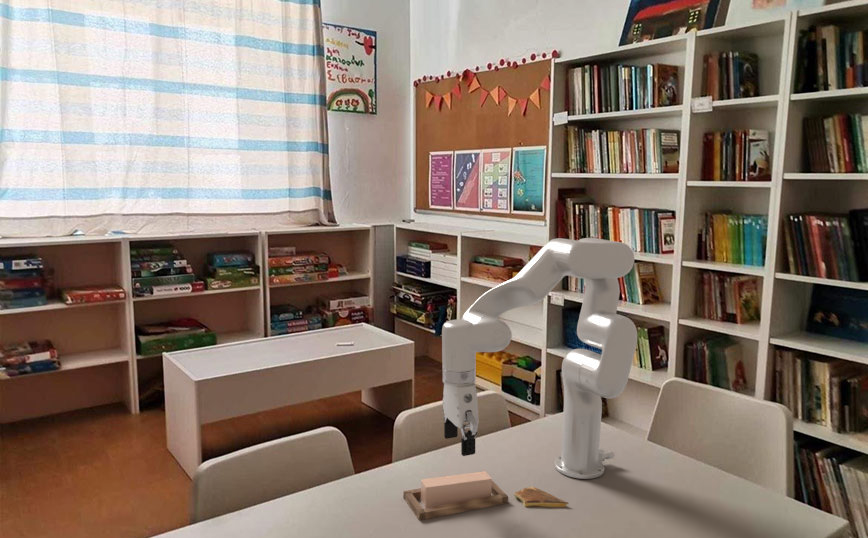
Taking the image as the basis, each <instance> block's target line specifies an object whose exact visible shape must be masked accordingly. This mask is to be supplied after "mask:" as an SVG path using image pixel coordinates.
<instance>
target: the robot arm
mask: <svg viewBox="0 0 868 538" xmlns="http://www.w3.org/2000/svg"><path fill="white" fill-rule="evenodd" d="M634 264H635V254H634V251H633V250H632V248H631V247H630V246H629V245H628V244H626V243H624V242H620V241H614V240H610V239H609V240H608V239H602V238H596V237H585V238H579V240H576V239H575V240H574V239H569V238H561V237H558V238H553V239H550V240H549V241H548V242H546V243H545V244H544V245H543V246H542V247H541V248H540V250H539V251H537V252H536V254H535V255H533V257H531V259H530V260H529V261H528V262H527V263H526V264H525V265H524V266H523V268H522V269H520V271H519V272H518V273H517V274H516V275H514V276H513V277H512V278H510V279H508V280H506V281H503V282H502V283H500V284H498V285H497V286H495V287H493V288H491V289H489V290H488V291H486V292H484V293H482V295H480V296H479V297H478V299H476V300H475V302H474V303H473V304H471V306H470V307H468V309H467V310H466V311H465V312H464V314H463V316H462V317H461V318H460V319H451V320H447V321H445V322H444V323H443V325H442V329H441V343H442V344H441V346H442V348H441V351H442V352H441V355H442V356H441V357H442V360H441V361H442V362H441V363H442V364H441V365H442V366H441V367H442V383H443V393H442V400H441V401H442V406H443V407H442V412H443V414H444V415H443V426H444V428H443V429H444V432H443V433H444V435H443V436H444V438H445V440H447V439H453V438H457V437H458V435H459V433H458V430H460V432H461V435H462V438H460V440H461V441H460V443H461V451H460V452H461V456H463V457H467V456H470V455H471V456H472V455H475V454H476V438H477V434H478V428H479V406H478V405H479V404H478V402H479V401H478V393H477V388H476V387H477V385H476V384H475V383H476V381H477V379H476V377H477V376H476V374H477V373H476V372H477V370H476V368H477V367H476V366H477V362H476V360H477V359H476V357H477V355H476V354H477V353H496V352H500V351H503V350H504V349H506V348H507V347H508V346H509V345H510V343H511V341H512V337H513V334H512V330H511V328H510V326H509V325H508V324H507V323H506V322H504V320H502V319H499V317H500V316H502V315H503V314H505V313H507V312H509V311H512V310H514V309H518V308H523V307H529V306H533V305H536V304H539V303H541V302H542V301H543V300H544V299H545V298H546V297H547V295H549V294H550V292H552V290H553V289H554V288H555V287H556V286H557V285H558V284H559V283H560V282H561V281H562V280H563V278H564V277H566V276H568V277H573V278H577V279H584V283H585V286H584V287H585V289H584V295H583V299H582V302H581V303H582V305H581V309H580V312H579V318H578V321H577V327H576V335H577V337H578V339H579V341H581V342H582V343H583V344H584V343H585V344H586V345H588V346H590V347H593V348H597V349H599V350H601V354H600V353H597V352H595V351H593V350H590V349H585V348H575V349H572V350H570V351H569V352H568V353H567V354H566V355H565V356H564V357H563V360H562V363H561V376H562V384H563V415H562V417H563V418H562V433H561V437H562V438H561V455H559V456H557V457H556V458H555V460H554V466H555V467H554V468H555V469H556V470H557V471H558V472H559V473H560V474H562V475H565V476H567V477H569V478H572V479H573V478H575V479H580V480H589V479H596V478H600V477H601V476H602V475H603V474H604V472H605V465H604V463H603V462H605V460H611V459H614V458H615V453H614V451H613V450H608V451H605V450H604V449H603V448H600V444H601V429H602V427H601V426H602V413H603V412H602V411H603V410H602V409H603V405H602V404H603V402H602V398H603V399H604V398H605V399H615V398H617V397H619V396H620V395H621V394H622V393H623V391H624V390H625V389H626V386H627V383H628V380H629V378H630V373H631V369H632V365H633V360H634V357H635V352H636V348H637V344H638V331H637V327H636V325H635V323H634V321H633V320H631V319H630V317H627V316H624V315H623V314H622V315H621V314H619V313H617V312H618V311H617V310H618V307H619V306H618V304H619V300H620V293H621V291H620V283H619V280H618V279H619V278H623V277H624V276H626V275H628V274H629V273H630V272H631V270H632V269H633V267H634ZM467 429H469V430H468V431H467V432H466V430H467Z"/></svg>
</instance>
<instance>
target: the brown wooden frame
mask: <svg viewBox="0 0 868 538" xmlns="http://www.w3.org/2000/svg"><path fill="white" fill-rule="evenodd" d="M402 496H403V499H404V501H405V502H406V504H407V505H408V507H410V509H411V511H412V512H413V513H414V515H415V516H416V518H417V519H418V520H419V521H422V520H429V519H432V518H433V519H434V518H438V517H444V516H447V515H453V514H458V513H463V512H468V511H473V510H478V509H484V508H489V507H494V506H499V505H503V504H508V503H509V496H508V495H507V493H506V492H504V490H502V489H501V487H499V486H498V485H497V484H496V483H495V482H494V481H493V480H492V489H491V496H489V497H484V498H478V499H473V500H468V501H463V502H457V503H452V504H447V505H442V506H436V507H431V508H426V509H425V508H423V507H422V505H421V504H420V503H419V501H418V500H417V499H421V487H420V488H415V489H409V490H404V491H403V495H402Z"/></svg>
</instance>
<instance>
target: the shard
mask: <svg viewBox="0 0 868 538" xmlns="http://www.w3.org/2000/svg"><path fill="white" fill-rule="evenodd" d="M514 497H515V498H516V499H518V500H520V502H521V503H522V504H523V506H524V507H545V508H546V507H547V508H548V507H550V508H551V507H552V508H553V507H554V508H563V507H567V505H568V504H569V502H568V501H567V502H566V501H565V500H563V499H561V498H559V497H556V496H555V495H553V494H551V493H548V492H546V491H544V490H542V489H540V488H537V487H535V486H528V487H525V488H522V489H521V490H519V491H516V492H514Z"/></svg>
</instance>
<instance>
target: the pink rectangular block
mask: <svg viewBox="0 0 868 538" xmlns="http://www.w3.org/2000/svg"><path fill="white" fill-rule="evenodd" d="M492 481H493V479H492V477H491V476H490V475H489V473H488V472H487V471H485V470H483V471H477V472H469V473H461V474H453V475H447V476H439V477H430V478H422V479H421V480H420V488H421V498H420V502H421V504H422V506H423V507H424V509H426V508H431V507H436V506H442V505H447V504H452V503H457V502H463V501H468V500H473V499H478V498H484V497H489V496H492V493H491V489H492Z"/></svg>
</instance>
